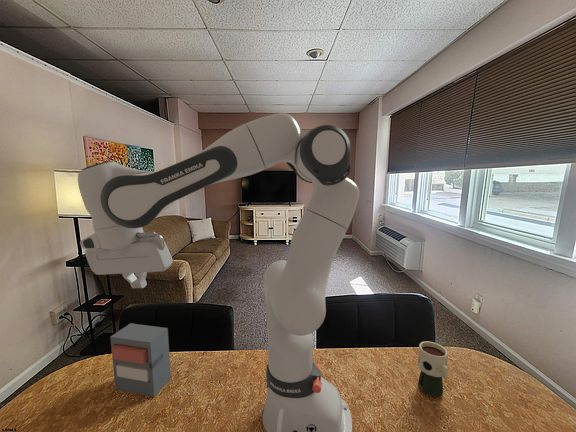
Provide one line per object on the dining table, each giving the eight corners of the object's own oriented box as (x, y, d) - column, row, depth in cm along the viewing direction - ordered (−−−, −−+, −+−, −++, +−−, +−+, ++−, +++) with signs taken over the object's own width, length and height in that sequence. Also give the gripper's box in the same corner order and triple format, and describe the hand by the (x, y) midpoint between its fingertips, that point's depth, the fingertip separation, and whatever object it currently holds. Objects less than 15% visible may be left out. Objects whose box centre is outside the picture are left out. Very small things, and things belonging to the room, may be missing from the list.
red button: (143, 364, 68) (142, 352, 67) (112, 359, 70) (111, 347, 69) (154, 354, 71) (153, 343, 71) (124, 349, 73) (123, 339, 73)
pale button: (147, 381, 69) (146, 370, 69) (117, 376, 71) (116, 365, 71) (157, 371, 73) (156, 360, 73) (128, 366, 75) (127, 356, 75)
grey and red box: (154, 397, 70) (150, 342, 68) (115, 389, 72) (110, 336, 70) (170, 378, 77) (167, 328, 75) (134, 371, 79) (130, 323, 77)
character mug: (407, 377, 77) (409, 338, 75) (428, 375, 78) (430, 336, 76) (432, 408, 66) (435, 363, 65) (456, 405, 67) (460, 360, 66)
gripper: (169, 226, 58) (184, 278, 62) (98, 233, 63) (116, 281, 66) (150, 236, 52) (168, 293, 56) (73, 242, 57) (95, 295, 60)
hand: (139, 287), depth 61 cm, fingers closed
